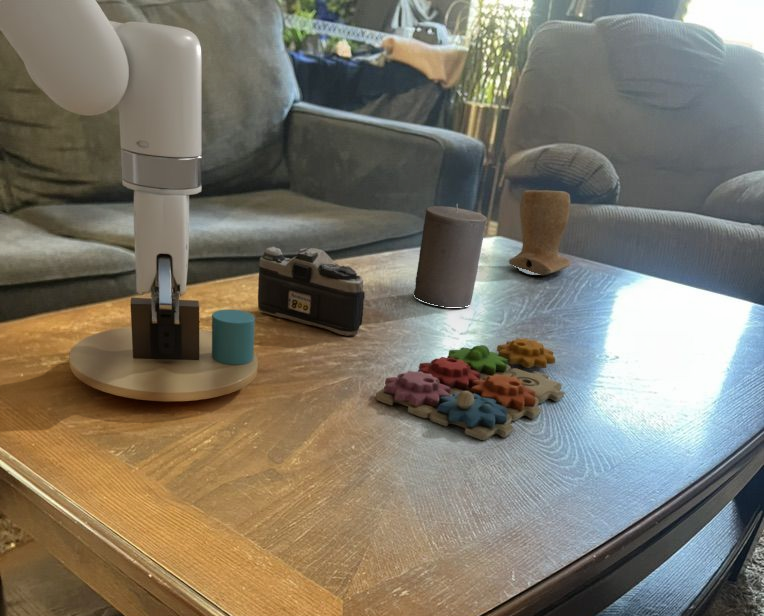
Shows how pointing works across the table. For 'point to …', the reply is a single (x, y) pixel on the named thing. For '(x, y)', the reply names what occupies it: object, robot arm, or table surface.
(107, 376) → the tray
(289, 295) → the camera
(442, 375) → the gear puzzle
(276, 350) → the table surface
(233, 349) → the teal cylinder block
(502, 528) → the table surface
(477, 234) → the pillar candle
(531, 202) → the brown flared block
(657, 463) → the table surface
